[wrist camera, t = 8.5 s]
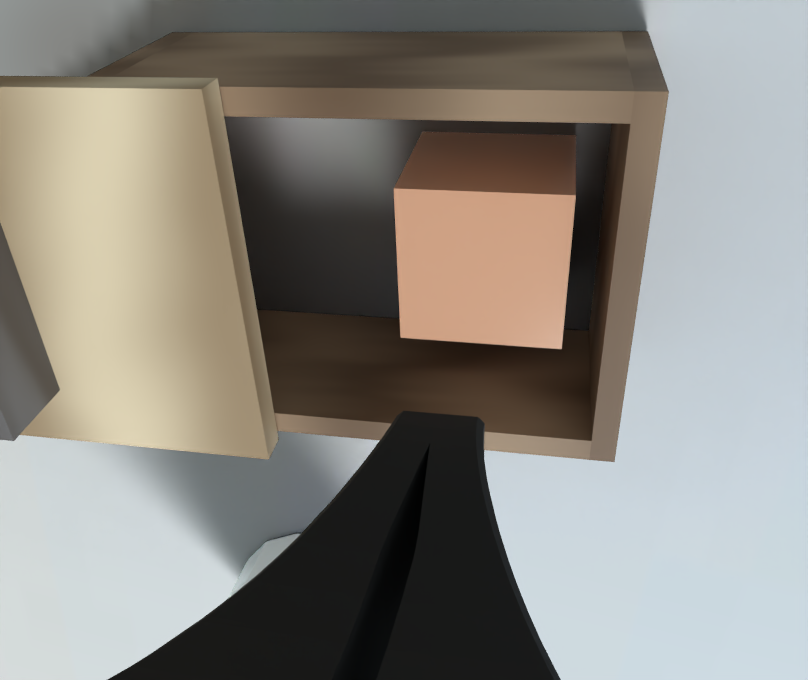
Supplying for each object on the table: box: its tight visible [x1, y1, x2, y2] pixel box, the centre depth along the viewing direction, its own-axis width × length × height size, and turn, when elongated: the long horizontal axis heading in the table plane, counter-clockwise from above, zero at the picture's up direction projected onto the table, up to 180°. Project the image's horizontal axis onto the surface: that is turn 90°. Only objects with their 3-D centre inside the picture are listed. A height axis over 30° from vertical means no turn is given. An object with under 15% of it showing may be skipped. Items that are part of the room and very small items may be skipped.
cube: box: [394, 131, 576, 349], centre depth 20 cm, size 4×4×4 cm
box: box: [87, 31, 669, 462], centre depth 20 cm, size 12×9×5 cm
